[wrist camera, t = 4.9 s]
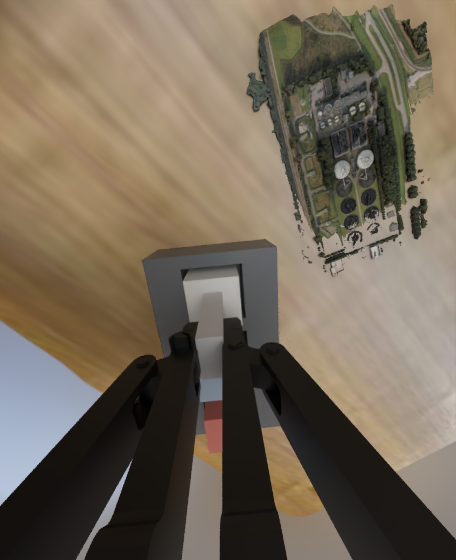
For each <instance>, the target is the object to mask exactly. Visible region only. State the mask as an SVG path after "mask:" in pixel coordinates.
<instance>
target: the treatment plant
mask: <svg viewBox="0 0 456 560" xmlns="http://www.w3.org/2000/svg"><path fill="white" fill-rule="evenodd" d="M371 12H372V13H371ZM371 12H369V10H367V11H366V12H365V13H364V14H363V15H362V16H360V15H359V14H358V11H356V12H355V15H353V16H342V15H341V14H340V12H339V11H337V9H336V8H335V7H333V9H332V13H331V15H330V16H327V14H326V13H321V14H319V15H317V16H312V17H309V18H307V19H306V20H305V21H303V22H301V21H300V20H299V19H298V18H297V16H296V15H295V14H293V15H291V16H289V17H288V18H285V19H283V20H281V21H279V22H277V23H276V24H274V25H272V26H270V27H269V28H267V29H265V30H263V31H262V32H261V33H260V45H259V47H260V54H261V58H260V63H259V66H260V68H261V69H262V72H261V74H263V75H264V82H262V81H257V80H256V79H255V73H249V74H248V76H250V84H249V87H248V89H247V94H251V95H252V96H253V98H254V103H253V105H254V109H255V110H256V111H257V110H259V109H260V105H261V104H262V102H263V101H265V100H266V99H267V97H268V98H269V99H268V101H269V104H267V106H268V105H269V106H270V109H271V112H270V113H271V114H272V118H273V120H274V123H275V129H274V130H273V131H272V133H273V132H276V133H277V137H278V140H279V141H280V144H281V145H282V148H281V152H282V154H281V157H282V160H283V162H282V163H284V162H285V164H286V169H287V171H286V173H285V174H286V175H287V177H288V181H289V184H291V191H292V192H293V197H294V202H295V203H294V205H295V209H298V208H299V206H298V203H297V201H296V200H297V199H298V200H299V202H300V204H301V206H302V209H303V212H304V215H305V216H306V217H305V218H306V219H307V221H308V224H309V226H310V229H311V228H312V229H313V231H314V233H315V235H316V236H315V241H316V242H317V244H318V245H319V242H320V243H321V245H322V248H323V251H324V247H323V242H322V237H323V236H325V237H326V238H327V239H328V238H330V237H331V236H332V235H334V233H335V231H337V232H336V233H337V234H338V235H339V237H340V241H341V242H342V235H343V237H345V236H346V234H348V233H350V234H348V235H349V236H350V235H352V234H353V233H354V236H353V237H351V238H352V239H353V240H352V241H354V242H353V246H354V245H355V243H356V240H357V239H358V238H359V237H358V234H357V235H356V232H357V233H358V232H359V231H358V230H357V231H355V229H354V228H350V230H348V226H349V227H350V225H351V226H352V225H353V224H354V223H355V222H357V225H358V226H357V227H359V226H362V225H361V224H362V223H363V225H364V223H365V222H364V221H366V220H365V217H367V216H368V217H371V218H375V217H376V216H375V214H377V213H376V212H374V211H373V212H371V211H372V210H375V211H377V210H378V214H379V213H380V212H381V210H382V211H383V212H382V213H385V211H384V210H385V209H384V207H386V208H388V207H390V206H392V205H393V203H394V205H395V207H396V213H397V221H398V224H397V223H394V222H392V224H391V225H390V226H389V229H390V231H395V230H396V229H399V235H400V234H402V233H401V230H403V229H404V227H403V221H402V218H401V215H399V213H398V211H400V210H401V208H400V207H401V203H402V204H403V205H405V204H406V203H407V201H406V199H405V178H406V172H407V175H408V176H407V178H408V179H407V180H408V182H410V181H412V180H413V181H414V180H416V178H417V176H415V173H416V169H415V163H414V162H415V157H414V156H415V153H416V152H415V151H414V150H413V149H414V146H415V145H414V144H412V143H413V139H412V136H413V135H412V133H410V115H411V113H410V109H409V103H408V99H409V102H410V106H411V103H412V104H413V103H414V101H415V103H414V104H415V105H416V103H417V102H418V100H419V99H421V98H422V99H423V98H424V97H426V96H428V95H429V94H431V93H432V92H433V77H432V68H431V65H432V59H431V53H430V50H429V49H427V38H426V34H425V33H427V30H426V25H427V24H426V22H423V23H422V24H421V25H420V26H418V28H416V29H413V30H412V29H411V27H410V19H408V20H406V21H403V22H401V21H400V20H395V11H394V8H393V5H390V6H389V7H388V8H384V9H381V10H378V9H377V8H376V6H374V5H373V8H372V10H371ZM428 98H429V97H428ZM419 103H420V102H419ZM411 109H412V108H411ZM415 111H416V109H415V108H413V109H412V114H413V112H415ZM405 168H406V171H405ZM422 171H423V169H422V170H418V173H419V172H422ZM423 177H424V176H423ZM430 179H431V178H429V179H428V181H430ZM290 180H291V181H290ZM423 183H424V181H422V182H421V184H423ZM292 184H293V185H292ZM411 186H412V187H410V188H409V197H410V198H416V197H417V196H418V192H417V189H418V187H417V186H413V185H411ZM370 193H371V194H370ZM419 193H421V192H419ZM295 194H296V196H295ZM367 194H368V195H367ZM366 195H367V196H366ZM365 196H366V197H365ZM400 197H401V198H402V200H400V199H401V198H400ZM420 201H421V202H420V203H421V205H420V206H419V208H418V207H417V208H416V207H415V206H413V208H412V210H411V214H412V215H411V217H410V218H412V220H411V222H412V223H413V224H412V228H413V230H412V231H413V232H412V234H413V233H414V238H415V239H418V238H419V236H420V235H421V232H420V231H421V228H425V227H426V225H427V224H426V222H427V220H425V219H424V216H423V214H425V213H426V211H427V208H428V207H427V199H421V200H420ZM376 209H377V210H376ZM379 210H380V212H379ZM419 211H421V213H419ZM299 212H300V211H299V210H298V212H297V213H295V215H296V220H300V219H301V218H300V217H301V215H300V213H299ZM368 213H370V214H369V215H368ZM365 214H366V215H365ZM387 214H388V215H387V216H388V218H390V217H392V216H394V211H391V212H389V213H387ZM382 215H385V214H382ZM420 215H421V216H420ZM378 216H379V215H378ZM419 216H420V218H421V219H419ZM368 217H367V218H368ZM383 217H385V216H383ZM351 218H352V219H351ZM371 218H370V219H371ZM383 219H384V220H385V219H386V218H383ZM375 220H376V219H375ZM420 220H421V223H420ZM301 223H302V220H301ZM351 223H352V224H351ZM358 223H359V224H358ZM369 223H370V222H369ZM355 224H356V223H355ZM374 224H376V225H377V224H378V223H374ZM371 225H372V224H371ZM371 225H370V226H371ZM421 225H422V226H421ZM354 226H355V225H354ZM370 226H369V227H370ZM378 226H380V225H379V224H378ZM378 226H376V228H374V229H373V231H371V232H372V234H375V233H377V232H378V229H377V227H378ZM420 226H421V228H420ZM335 227H336V228H337V229H336V228H335ZM369 227H368V229H369ZM298 229H299V230H301V229H300V225H299V224H298ZM352 229H353V230H354V231H353V232H351V231H352ZM368 229H367V230H368ZM375 229H376V230H375ZM374 230H375V231H374ZM303 231H304V230H303ZM300 233H301V231H300ZM302 233H303V232H302ZM359 233H360V234H361V240H360V242H362V233H361V232H359ZM303 235H304V234H302V236H303ZM349 236H348V239H347V241H349ZM355 237H356V238H355ZM397 237H398V235H392V236H391V237H387V238H386V239H383V240H380V241H377V242H376V243H373V244H370V245H368V246H371V247H369V249H370V253H371V255H372V258H373V259H374V258H378V257H379V256H378V250H377V246H376V245H377V243H378V246H379V247H378V248H379V253H380V255H381V256H382V255H383V254H381V252H383V250H381V249H382V248H380V244H381V243H384V242H388V240H392V239H393V241H395V239H396V238H397ZM344 241H345V240H344ZM342 243H343V242H342ZM400 243H401V241H400ZM336 244H337V243H336ZM342 245H343V244H342ZM400 245H401V244H400ZM366 247H367V246H366ZM308 248H309V247H308ZM344 248H345V247H344ZM353 248H354V247H353ZM362 248H363V247H361V248H359V249H362ZM318 249H320V247H318ZM359 249H355V250H354V251H353V252H349V253H346V254H345V253H344V252H343V251H344V250H345V249H342V250H340V251H341V252H343V253H340V251H338V252H339V254H337V255H335V256H333V257H331V255H334V254H336V253H338V252H336V253H332V254H331V255H330V254H329V255H327V256H324V255H325V252H324V253H323V252H321V254H319V255H320V257H323V258H326V257H329V256H330V258H329V259H326V260H327V261H325V264H329V263H331V268H330V269H331V272H332V275H333V277H335V276H337V275H338V274H337V273H338V272H340V271H342V270H344V269H343V265H342V261H341V259H342V258H344V257H347V256H346V255H348V259H350V256H349V254H351V255H353V254H356V253H358V251H359ZM302 251H303V250H302ZM319 251H320V250H319ZM364 251H365V248H364V249H362V250H361V252H364ZM302 253H303V252H302ZM342 254H343V255H342ZM303 255H304V254H303ZM340 255H341V256H340ZM304 257H306V256H304ZM365 257H366V256H365ZM306 258H307V257H306ZM308 258H309V257H308ZM308 258H307V259H308ZM362 258H363V257H362ZM303 259H304V258H303ZM309 263H312V262H311V261H309ZM323 267H325V265H323ZM323 269H325V268H323ZM325 272H326V270H325Z"/></svg>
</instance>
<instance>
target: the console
mask: <svg viewBox="0 0 456 560" xmlns="http://www.w3.org/2000/svg"><path fill="white" fill-rule="evenodd" d="M142 262H143V267H144V271H145V275H146V280H147V284H148V288H149V293H150V297H151V302H152V306H153V310H154V315H155V319H156V323H157V328H158V332H159V337H160V341H161V345H162V350H163V354H164V358H165V357H168V356H170V353H171V350H170V345H169V340H168V338H169V337H170V336H171V335H173V334H174V333H177V332H180V331H182V330H183V327H184V326H185V325H186V324H187V323H188V322H190V321H189V315H188V309H187V303H186V298H185V292H184V286H183V280H184V278H185V276H186V274H187V273H188V271H189V269H191V268H201V267H211V266H221V265H231V264H236V268H237V272H238V275H239V286H240V299H241V311H242V323H243V325H242V330H243V335H244V341H245V343H246V344H247V345H248V346H249V347H252V348H257V349H260V347H261V346H262V345H263V344H265V343H268V342H276V343H279V335H278V283H277V247H276V246H275V245H273V244H272V243H270V242H269V241H267V240H266V239H263V240H253V241H243V242H233V243H223V244H213V245H203V246H192V247H182V248H172V249H162V250H157V251H155V252H154V253H152V254H151V255H149V256H148V257H146V258H145V259H143V260H142ZM254 392H255V397H256V403H257V408H258V414H259V420H260V425H261V428H266V427H276V426H280V424H279V422H278V420H277V418H276V416H275V414H274V413H273V411H272V409H271V407H270V405H269V403H268V401H267V400H266V398H265V396H264V394H263V392H262V389H258V388H254ZM204 411H205V402H200V400H199V409H198V418H197V426H196V435H197V434H206V431H205V425H204Z"/></svg>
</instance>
